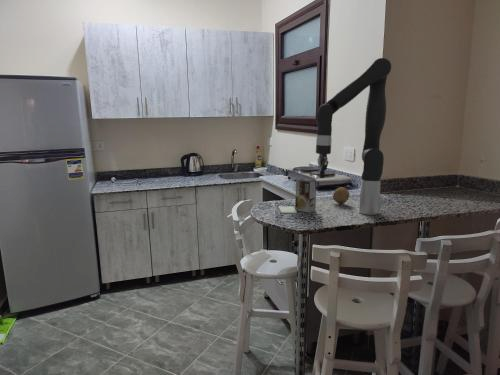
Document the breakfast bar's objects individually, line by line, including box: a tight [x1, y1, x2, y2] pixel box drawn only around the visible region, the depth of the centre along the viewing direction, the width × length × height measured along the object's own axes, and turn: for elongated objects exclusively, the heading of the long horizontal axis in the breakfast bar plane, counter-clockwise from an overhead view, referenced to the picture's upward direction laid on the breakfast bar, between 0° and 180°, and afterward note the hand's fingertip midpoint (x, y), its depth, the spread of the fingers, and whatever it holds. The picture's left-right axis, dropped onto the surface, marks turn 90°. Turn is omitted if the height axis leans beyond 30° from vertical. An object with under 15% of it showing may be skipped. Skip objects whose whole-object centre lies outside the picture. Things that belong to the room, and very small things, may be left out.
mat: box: [278, 205, 298, 214], centre depth 187 cm, size 8×12×1 cm, turn 3°
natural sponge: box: [332, 186, 350, 205], centre depth 199 cm, size 9×9×10 cm
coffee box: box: [294, 178, 317, 213], centre depth 186 cm, size 9×6×16 cm
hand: (321, 177), depth 185 cm, fingers closed
